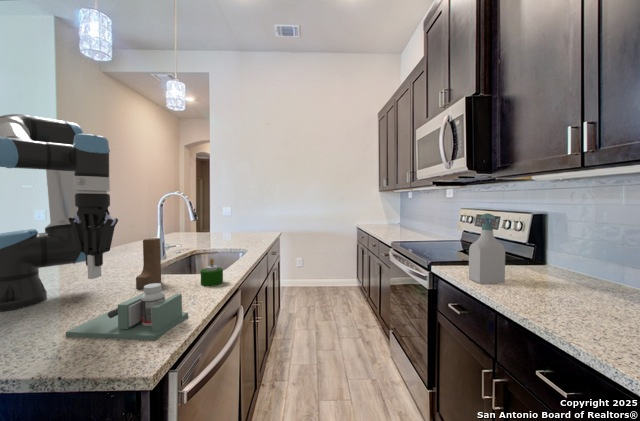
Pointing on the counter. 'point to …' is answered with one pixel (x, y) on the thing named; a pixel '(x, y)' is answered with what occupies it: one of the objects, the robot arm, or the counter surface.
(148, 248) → the wooden block
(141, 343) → the counter surface
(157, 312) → the vise
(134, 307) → the sliding jaw
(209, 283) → the candle
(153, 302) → the pill bottle
